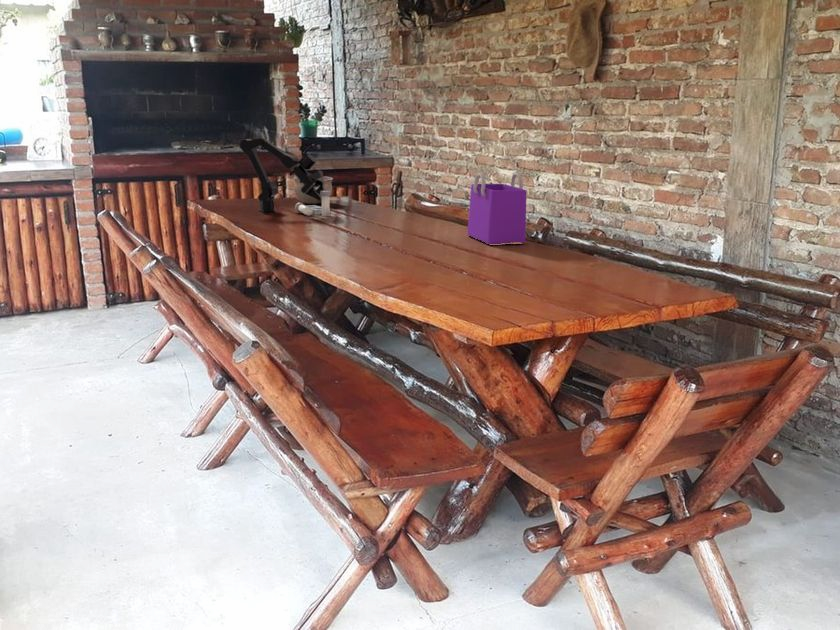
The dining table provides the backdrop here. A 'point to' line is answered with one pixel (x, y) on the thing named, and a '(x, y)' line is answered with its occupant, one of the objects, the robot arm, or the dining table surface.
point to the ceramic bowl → (307, 198)
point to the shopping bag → (497, 211)
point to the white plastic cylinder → (303, 209)
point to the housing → (316, 209)
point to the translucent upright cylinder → (325, 202)
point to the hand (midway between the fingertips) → (323, 198)
